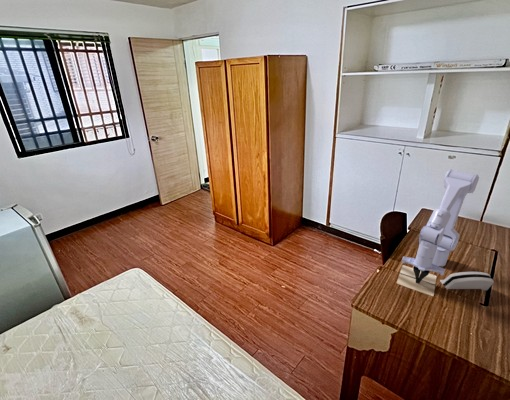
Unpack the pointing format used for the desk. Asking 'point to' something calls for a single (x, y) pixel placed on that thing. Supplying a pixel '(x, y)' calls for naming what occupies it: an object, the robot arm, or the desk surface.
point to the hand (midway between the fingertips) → (417, 281)
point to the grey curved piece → (468, 281)
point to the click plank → (416, 285)
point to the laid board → (410, 273)
